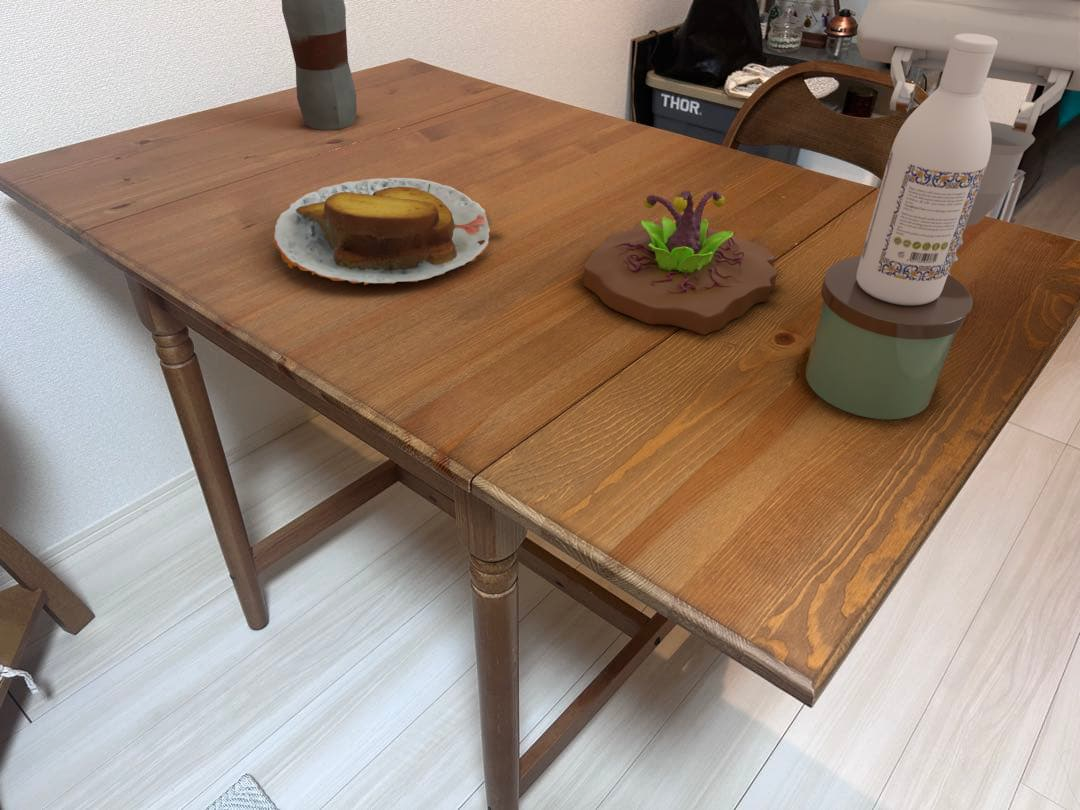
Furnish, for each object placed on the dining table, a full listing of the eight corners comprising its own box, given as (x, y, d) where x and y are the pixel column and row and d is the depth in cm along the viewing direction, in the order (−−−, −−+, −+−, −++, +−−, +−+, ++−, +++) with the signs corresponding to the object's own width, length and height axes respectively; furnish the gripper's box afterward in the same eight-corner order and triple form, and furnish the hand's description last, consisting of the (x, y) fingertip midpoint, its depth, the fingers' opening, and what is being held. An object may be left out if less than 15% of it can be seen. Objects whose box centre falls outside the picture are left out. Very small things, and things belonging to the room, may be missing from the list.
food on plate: (468, 191, 109) (466, 142, 105) (516, 279, 91) (516, 224, 87) (272, 211, 103) (262, 161, 99) (281, 310, 85) (269, 253, 81)
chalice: (980, 298, 88) (1045, 133, 77) (956, 322, 84) (1021, 151, 73) (914, 275, 92) (967, 115, 81) (888, 297, 88) (940, 132, 77)
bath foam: (957, 303, 67) (1053, 48, 55) (882, 312, 66) (963, 53, 54) (910, 264, 73) (987, 24, 61) (839, 272, 72) (904, 28, 59)
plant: (553, 292, 88) (555, 194, 81) (639, 227, 101) (648, 138, 94) (723, 351, 79) (742, 247, 72) (794, 272, 92) (816, 177, 85)
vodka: (300, 113, 133) (264, -101, 115) (357, 110, 135) (330, -102, 117) (301, 133, 126) (263, -92, 108) (361, 129, 128) (333, -94, 110)
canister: (959, 385, 75) (998, 291, 69) (893, 441, 69) (929, 342, 63) (845, 332, 82) (870, 242, 76) (775, 378, 76) (797, 284, 70)
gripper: (887, -75, 68) (829, 76, 67) (1175, -52, 59) (1111, 120, 59) (885, -24, 74) (831, 115, 73) (1147, 3, 65) (1089, 161, 65)
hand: (958, 118), depth 66 cm, fingers open, 8 cm apart
